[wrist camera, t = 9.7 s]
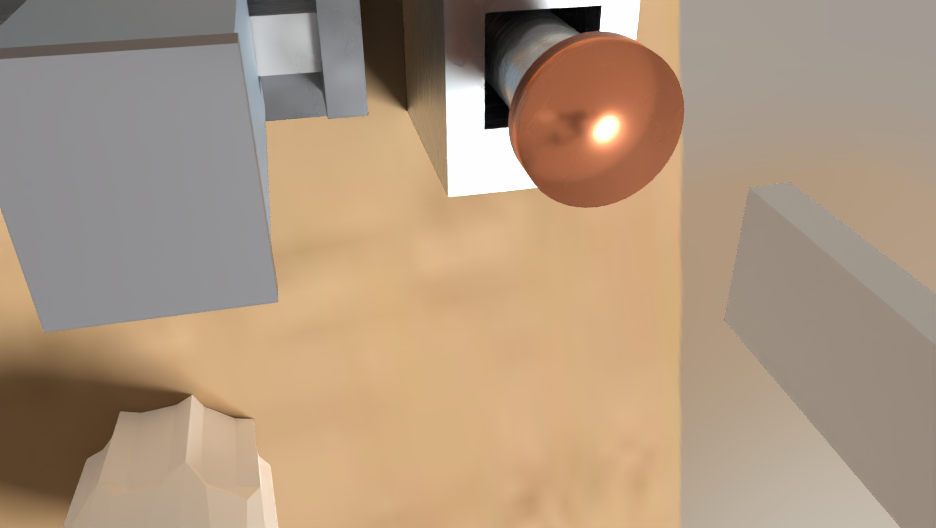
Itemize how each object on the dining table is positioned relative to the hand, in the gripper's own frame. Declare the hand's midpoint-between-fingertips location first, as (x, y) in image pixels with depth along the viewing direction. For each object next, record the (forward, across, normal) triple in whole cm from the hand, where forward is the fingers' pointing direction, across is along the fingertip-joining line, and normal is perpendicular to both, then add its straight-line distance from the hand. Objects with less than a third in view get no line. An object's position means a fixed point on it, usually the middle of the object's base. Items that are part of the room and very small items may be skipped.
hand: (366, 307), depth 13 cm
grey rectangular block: (+19, -4, 0) cm, 19 cm away
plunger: (+16, +7, -1) cm, 17 cm away
